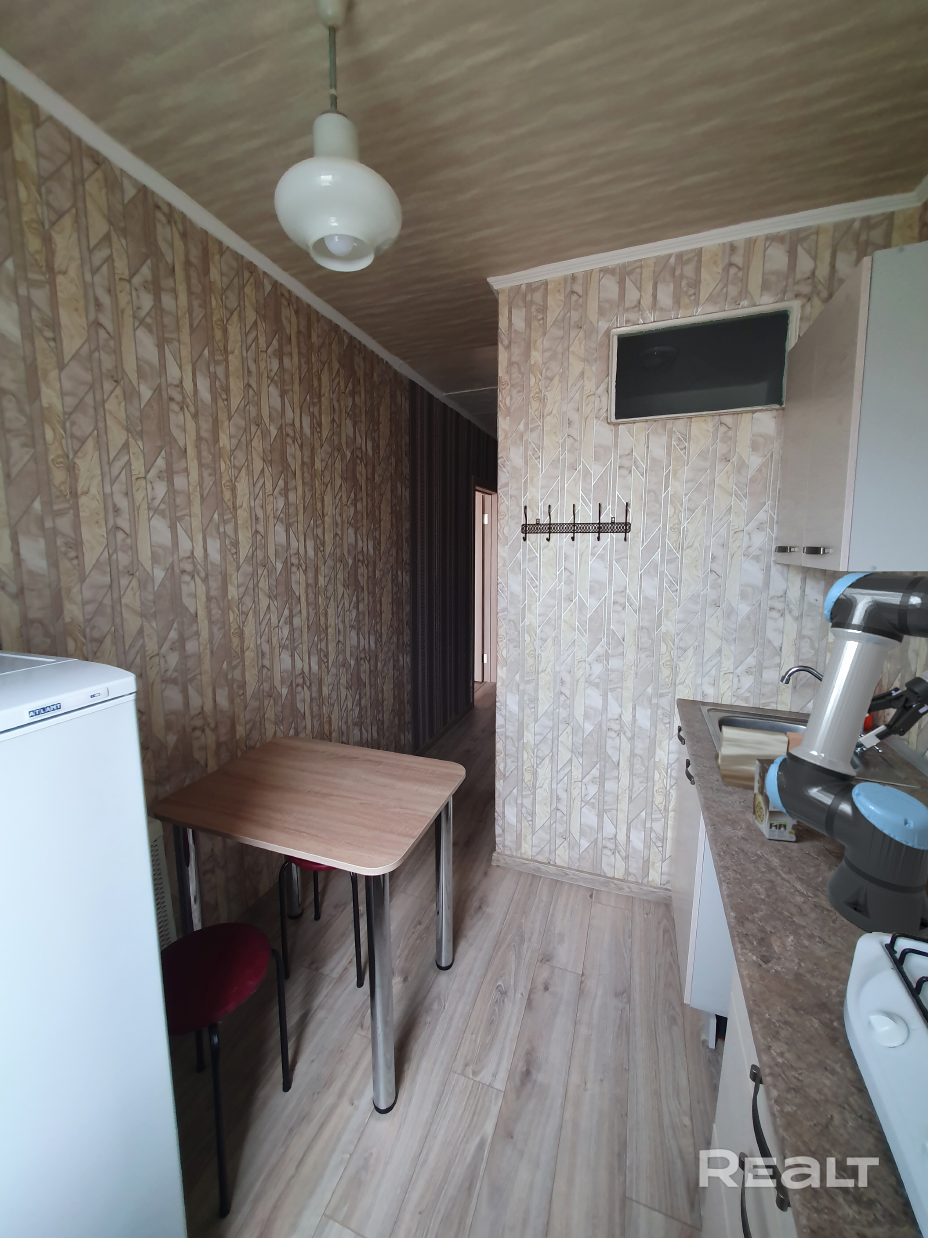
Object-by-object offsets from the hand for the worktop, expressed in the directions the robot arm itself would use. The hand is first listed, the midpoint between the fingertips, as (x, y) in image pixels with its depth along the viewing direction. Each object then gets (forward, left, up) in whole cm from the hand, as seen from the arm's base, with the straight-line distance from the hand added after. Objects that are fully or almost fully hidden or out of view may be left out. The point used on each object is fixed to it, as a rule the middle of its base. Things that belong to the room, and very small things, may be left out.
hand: (852, 733), depth 129 cm
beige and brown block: (0, +18, -16) cm, 25 cm away
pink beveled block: (0, +11, -14) cm, 18 cm away
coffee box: (-28, +23, -16) cm, 40 cm away
